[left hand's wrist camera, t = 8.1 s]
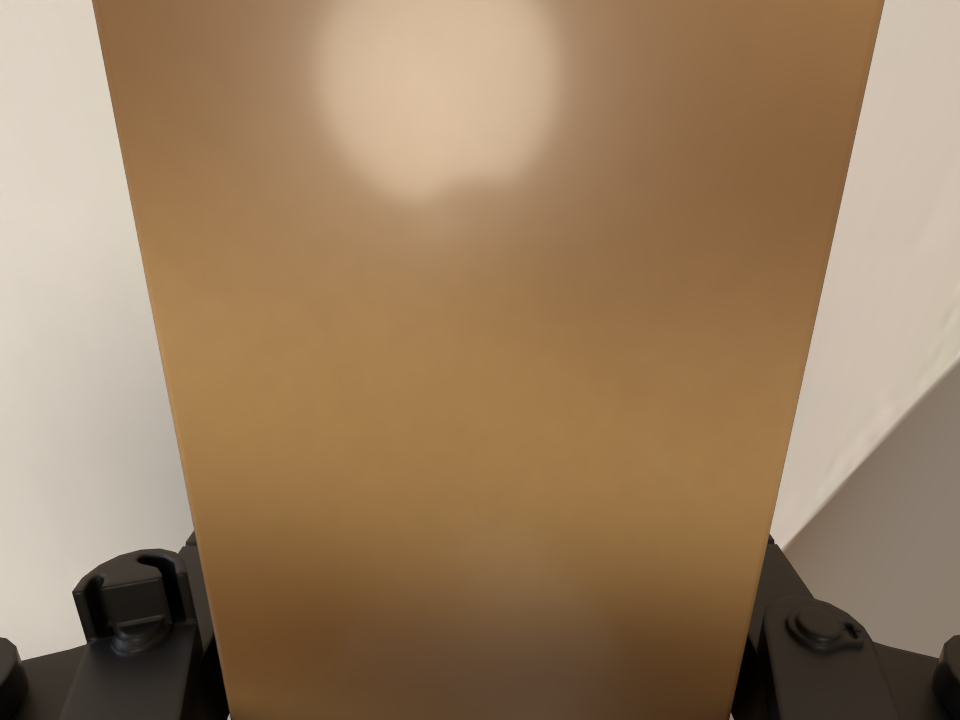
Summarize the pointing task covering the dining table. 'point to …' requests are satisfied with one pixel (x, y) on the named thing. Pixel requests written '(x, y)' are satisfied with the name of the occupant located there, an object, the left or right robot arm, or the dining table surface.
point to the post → (484, 332)
